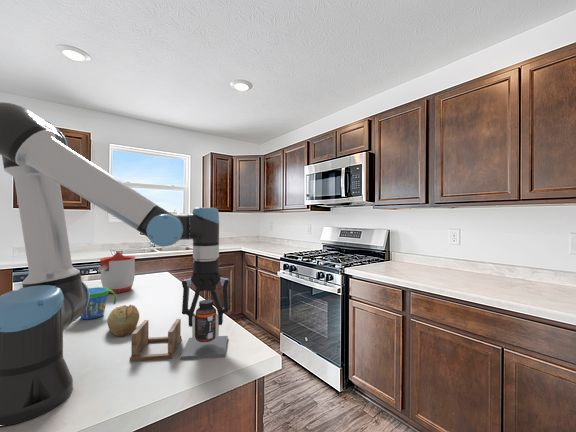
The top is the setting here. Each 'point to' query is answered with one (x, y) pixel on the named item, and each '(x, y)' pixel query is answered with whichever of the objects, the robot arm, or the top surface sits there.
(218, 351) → the coaster
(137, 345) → the rack
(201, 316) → the supplement bottle
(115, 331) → the bread roll
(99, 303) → the snack cup
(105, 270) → the citrus juicer
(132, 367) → the top surface
